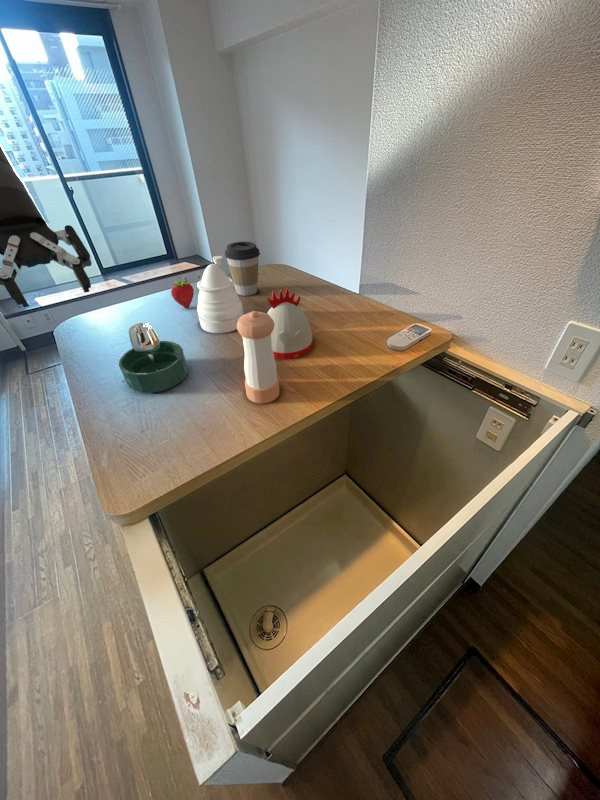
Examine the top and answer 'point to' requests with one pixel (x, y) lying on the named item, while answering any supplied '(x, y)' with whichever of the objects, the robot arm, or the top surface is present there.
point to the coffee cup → (243, 266)
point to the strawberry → (182, 293)
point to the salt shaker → (259, 357)
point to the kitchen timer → (289, 327)
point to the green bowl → (140, 366)
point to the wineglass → (145, 341)
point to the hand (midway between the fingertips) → (57, 297)
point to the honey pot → (218, 300)
